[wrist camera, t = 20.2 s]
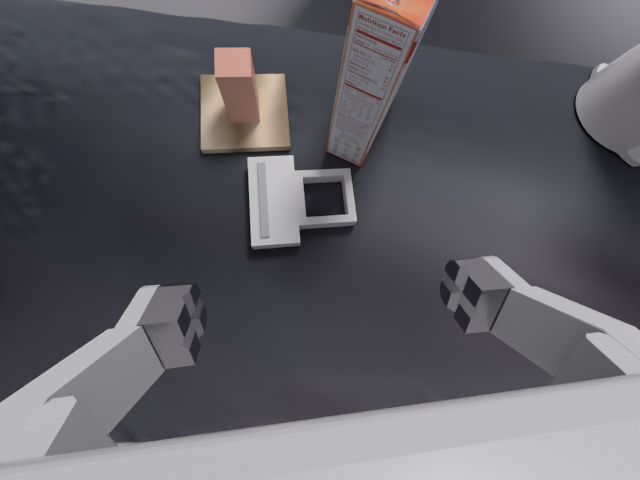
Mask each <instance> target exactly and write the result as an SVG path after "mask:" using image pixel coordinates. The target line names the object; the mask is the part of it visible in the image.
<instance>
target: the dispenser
mask: <svg viewBox="0 0 640 480" xmlns="http://www.w3.org/2000/svg"><path fill="white" fill-rule="evenodd" d="M248 179H249V202H250V226H251V246H252V248H253V249H266V248H279V247H292V246H300V231H299V229H312V228H326V227H340V226H354V225H355V223H356V222H357V217H356V209H355V201H354V194H353V186H352V179H351V171H350V168H342V169H321V170H300V171H294V159H293V155H291V156H267V157H248ZM327 182H341V184H342V192H343V200H344V208H345V215H331V216H316V217H306V209H305V198H304V186H303V184H309V183H327Z"/></svg>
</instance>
